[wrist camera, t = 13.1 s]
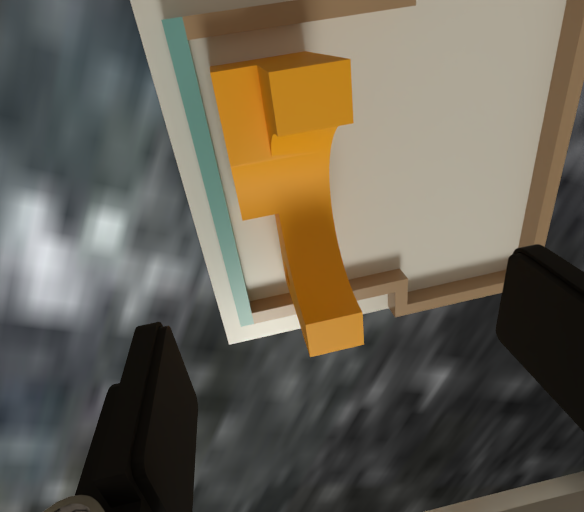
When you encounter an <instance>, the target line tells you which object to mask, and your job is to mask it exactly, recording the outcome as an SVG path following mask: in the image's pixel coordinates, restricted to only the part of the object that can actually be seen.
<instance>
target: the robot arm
mask: <svg viewBox="0 0 584 512" xmlns="http://www.w3.org/2000/svg"><path fill="white" fill-rule="evenodd" d="M496 334H497V337H498V339H499V340H500V342H501V343H502V344H503V345H504V346H505V347H506V348H507V349H508V350H509V351H510V352H511V354H512V355H513V356H514V357H515V358H516V359H517V360H518V361H519V362H520V363H521V364H522V365H523V366H524V368H525V369H526V370H527V371H528V372H529V373H530V374H531V375H532V376H533V377H534V378H535V379H536V381H537V382H538V383H539V384H540V385H541V386H542V387H543V388H544V389H545V390H546V391H547V392H548V393H549V395H550V396H551V397H552V398H553V399H554V400H555V401H556V402H557V403H558V404H559V405H560V406H561V408H562V409H563V410H564V411H565V412H566V413H567V414H568V415H569V416H570V417H571V418H572V419H573V420H574V422H575V423H576V424H577V425H578V426H579V427H580V428H581V429H582V430H583V431H584V272H583V271H581V270H580V269H578V268H577V267H575V266H573V265H572V264H570V263H569V262H567V261H566V260H564V259H563V258H561V257H559V256H558V255H556V254H555V253H553V252H552V251H550V250H549V249H547V248H545V247H544V246H542V245H540V244H535V245H530V246H526V247H521V248H517V249H515V250H514V252H513V254H512V255H510V257H509V258H508V263H507V268H506V274H505V280H504V285H503V291H502V297H501V302H500V308H499V314H498V319H497V325H496ZM197 416H198V403H197V397H196V394H195V391H194V389H193V386H192V383H191V381H190V378H189V375H188V373H187V370H186V367H185V365H184V362H183V360H182V357H181V354H180V352H179V349H178V346H177V344H176V341H175V338H174V336H173V333H172V330H171V328H170V327H169V326H165V327H163V326H162V324H161V323H160V322H156V323H151V324H147V325H142V326H138V327H136V329H135V332H134V336H133V339H132V343H131V346H130V350H129V353H128V357H127V360H126V364H125V367H124V371H123V374H122V378H121V381H120V383H118V384H114V385H112V386H111V387H110V388H109V390H108V392H107V395H106V398H105V401H104V404H103V407H102V411H101V414H100V417H99V420H98V423H97V427H96V430H95V433H94V436H93V439H92V442H91V446H90V449H89V452H88V455H87V458H86V462H85V465H84V468H83V471H82V474H81V478H80V481H79V484H78V487H77V490H76V494H75V496H70V497H67V498H65V499H63V500H60V501H58V502H56V503H55V504H53V505H52V506H50V507H49V508H48V509H46V510H45V511H43V512H192V506H193V488H194V470H195V452H196V434H197ZM425 512H584V471H583V472H579V473H575V474H571V475H567V476H563V477H559V478H555V479H551V480H547V481H543V482H539V483H535V484H531V485H527V486H523V487H519V488H515V489H511V490H508V491H504V492H500V493H496V494H492V495H488V496H484V497H480V498H476V499H472V500H468V501H464V502H461V503H457V504H453V505H449V506H445V507H441V508H437V509H433V510H429V511H425Z"/></svg>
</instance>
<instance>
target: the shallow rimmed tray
mask: <svg viewBox="0 0 584 512" xmlns="http://www.w3.org/2000/svg"><path fill="white" fill-rule="evenodd" d="M130 2H131V5H132V9H133V12H134V15H135V19H136V22H137V26H138V29H139V33H140V36H141V40H142V43H143V47H144V50H145V54H146V57H147V61H148V64H149V68H150V71H151V74H152V78H153V81H154V85H155V88H156V92H157V95H158V99H159V102H160V106H161V109H162V113H163V116H164V120H165V123H166V127H167V130H168V134H169V137H170V140H171V144H172V147H173V151H174V154H175V158H176V161H177V165H178V168H179V172H180V175H181V179H182V182H183V186H184V189H185V193H186V196H187V199H188V203H189V206H190V210H191V213H192V217H193V220H194V224H195V227H196V231H197V234H198V238H199V241H200V245H201V248H202V252H203V255H204V259H205V262H206V265H207V269H208V272H209V276H210V279H211V283H212V286H213V290H214V293H215V297H216V300H217V304H218V307H219V311H220V314H221V318H222V321H223V324H224V328H225V331H226V335H227V338H228V342H229V345H230V344H234V343H239V342H243V341H247V340H252V339H256V338H260V337H265V336H269V335H274V334H278V333H282V332H287V331H291V330H295V329H300V328H301V327H300V324H299V320H298V317H297V314H296V311H295V308H294V305H293V301H292V298H291V295H290V292H289V289H288V286H287V283H286V278H285V272H284V266H283V260H282V254H281V248H280V242H279V236H278V230H277V224H276V218H275V214H274V215H269V216H264V217H259V218H254V219H249V220H244V221H242V216H241V212H240V207H239V203H238V198H237V194H236V189H235V184H234V180H233V176H232V171H231V167H230V162H229V158H228V153H227V148H226V144H225V139H224V135H223V130H222V125H221V121H220V116H219V112H218V107H217V102H216V98H215V93H214V89H213V84H212V79H211V75H210V66H216V65H223V64H229V63H235V62H241V61H248V60H254V59H260V58H266V57H273V56H279V55H285V54H291V53H298V52H304V51H307V52H313V53H319V54H325V55H331V56H336V57H342V58H348V59H351V80H352V101H353V122H354V123H352V124H347V125H341V126H338V127H337V129H336V131H335V134H334V136H333V140H332V145H331V151H330V165H329V178H330V195H331V205H332V213H333V219H334V225H335V231H336V236H337V240H338V245H339V249H340V253H341V257H342V261H343V264H344V268H345V271H346V274H347V277H348V280H349V283H350V286H351V288H352V291H353V293H354V296H355V298H356V300H357V302H358V304H359V306H360V308H361V310H362V313H363V314H365V313H370V312H374V311H378V310H383V309H387V308H389V309H390V310H391V312H392V313H393V315H394V316H395V317H398V316H403V315H407V314H411V313H416V312H420V311H424V310H429V309H433V308H437V307H441V306H446V305H450V304H454V303H459V302H463V301H467V300H472V299H476V298H480V297H485V296H489V295H493V294H498V293H502V291H503V285H504V280H505V274H506V268H507V263H508V258H509V257H510V255H512V254H513V252H514V250H515V249H517V248H521V247H526V246H530V245H535V244H540V245H542V246H544V247H545V243H546V238H547V234H548V230H549V226H550V221H551V217H552V213H553V209H554V204H555V200H556V196H557V192H558V187H559V183H560V179H561V175H562V170H563V166H564V162H565V158H566V153H567V149H568V145H569V141H570V136H571V132H572V128H573V124H574V120H575V115H576V111H577V107H578V103H579V98H580V94H581V90H582V86H583V81H584V0H130Z"/></svg>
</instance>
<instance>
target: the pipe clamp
mask: <svg viewBox="0 0 584 512" xmlns="http://www.w3.org/2000/svg"><path fill="white" fill-rule="evenodd" d="M210 75H211V79H212V84H213V89H214V93H215V98H216V102H217V107H218V112H219V116H220V121H221V125H222V130H223V135H224V139H225V144H226V148H227V153H228V158H229V162H230V167H231V171H232V176H233V180H234V184H235V189H236V194H237V198H238V203H239V207H240V212H241V216H242V221H244V220H249V219H254V218H259V217H264V216H269V215H274V214H275V218H276V224H277V230H278V236H279V242H280V248H281V254H282V260H283V266H284V272H285V278H286V283H287V286H288V289H289V292H290V295H291V298H292V301H293V305H294V308H295V311H296V314H297V317H298V320H299V324H300V327H301V330H302V333H303V336H304V339H305V342H306V346H307V349H308V352H309V355H310V357H313V356H317V355H321V354H326V353H330V352H334V351H338V350H343V349H347V348H351V347H355V346H359V345H364V334H363V313H362V310H361V308H360V306H359V304H358V302H357V300H356V298H355V296H354V293H353V291H352V288H351V286H350V283H349V280H348V277H347V274H346V271H345V268H344V264H343V261H342V257H341V253H340V249H339V245H338V240H337V236H336V231H335V225H334V219H333V213H332V205H331V195H330V178H329V165H330V151H331V145H332V140H333V136H334V134H335V131H336V129H337V127H338V126H341V125H347V124H352V123H354V122H353V101H352V80H351V59H348V58H342V57H336V56H331V55H325V54H319V53H313V52H307V51H304V52H298V53H291V54H285V55H279V56H273V57H266V58H260V59H254V60H248V61H241V62H235V63H229V64H223V65H216V66H210Z"/></svg>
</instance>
